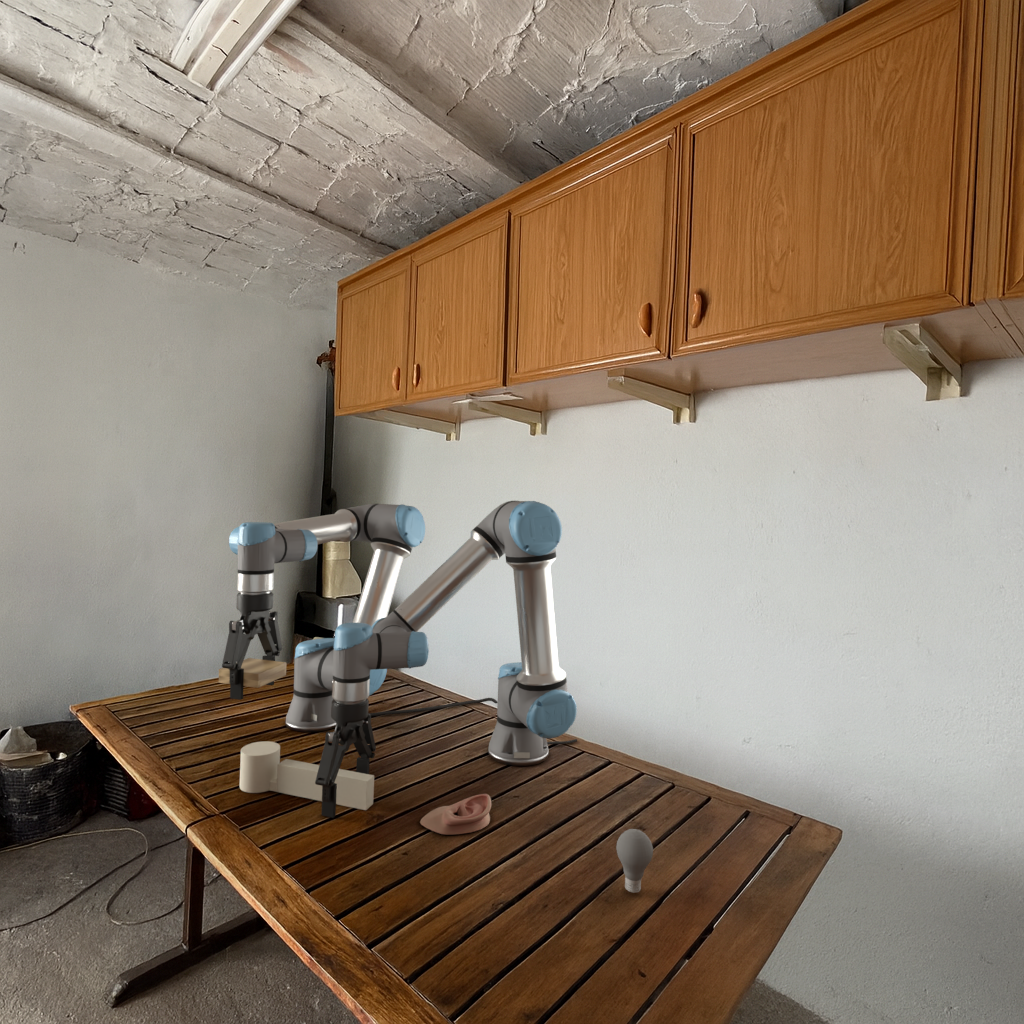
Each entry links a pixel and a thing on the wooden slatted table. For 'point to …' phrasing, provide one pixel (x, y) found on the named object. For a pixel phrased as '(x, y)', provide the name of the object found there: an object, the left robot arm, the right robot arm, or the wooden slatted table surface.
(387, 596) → the left robot arm
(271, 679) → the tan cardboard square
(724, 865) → the wooden slatted table surface
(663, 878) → the wooden slatted table surface
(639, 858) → the light bulb
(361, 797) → the toy wooden mallet
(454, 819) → the anatomical model
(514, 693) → the right robot arm
